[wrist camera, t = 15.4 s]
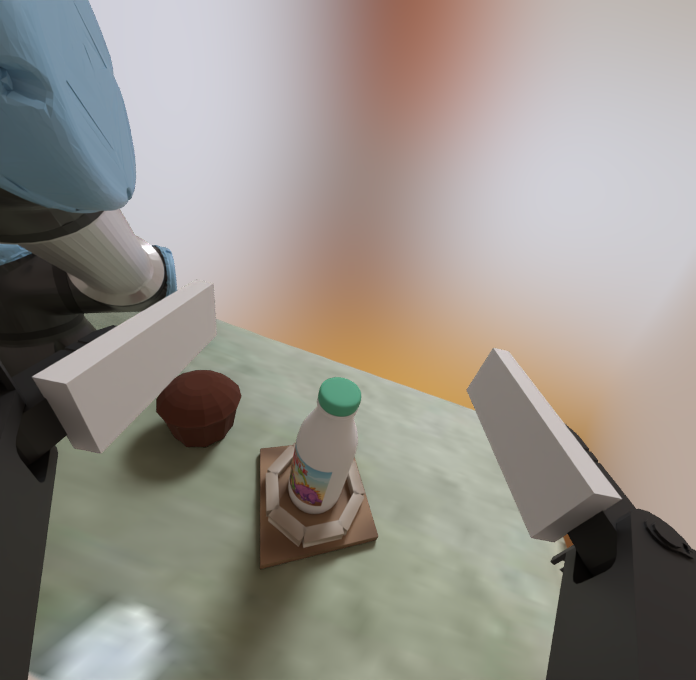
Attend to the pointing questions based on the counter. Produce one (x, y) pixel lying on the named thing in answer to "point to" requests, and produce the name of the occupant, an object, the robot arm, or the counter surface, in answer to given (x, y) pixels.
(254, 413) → the counter surface
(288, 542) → the ring stand
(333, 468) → the milk bottle
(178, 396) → the muffin
